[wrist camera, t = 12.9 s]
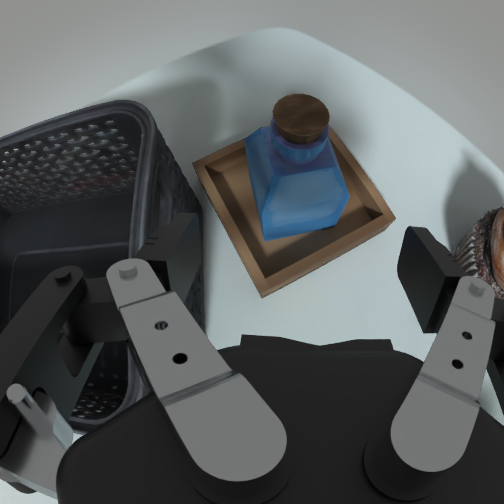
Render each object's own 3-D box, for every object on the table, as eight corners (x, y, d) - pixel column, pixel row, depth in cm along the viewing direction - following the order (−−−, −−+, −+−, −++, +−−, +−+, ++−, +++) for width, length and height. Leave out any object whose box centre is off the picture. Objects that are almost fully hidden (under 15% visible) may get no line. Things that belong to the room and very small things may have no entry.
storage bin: (-18, 369, 26) (-103, 363, 13) (-6, 216, 31) (-76, 172, 19) (208, 400, 25) (152, 448, 12) (204, 185, 30) (164, 87, 17)
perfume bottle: (264, 241, 27) (258, 169, 16) (249, 178, 29) (236, 85, 18) (334, 226, 27) (372, 150, 16) (315, 165, 29) (334, 72, 18)
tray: (199, 179, 30) (192, 163, 27) (312, 127, 31) (315, 108, 28) (261, 298, 27) (260, 293, 24) (384, 230, 28) (396, 218, 25)
